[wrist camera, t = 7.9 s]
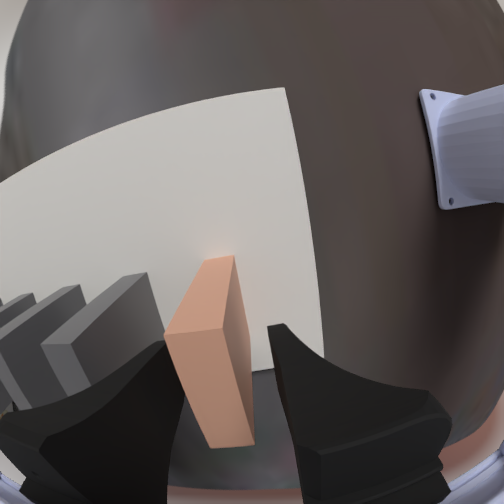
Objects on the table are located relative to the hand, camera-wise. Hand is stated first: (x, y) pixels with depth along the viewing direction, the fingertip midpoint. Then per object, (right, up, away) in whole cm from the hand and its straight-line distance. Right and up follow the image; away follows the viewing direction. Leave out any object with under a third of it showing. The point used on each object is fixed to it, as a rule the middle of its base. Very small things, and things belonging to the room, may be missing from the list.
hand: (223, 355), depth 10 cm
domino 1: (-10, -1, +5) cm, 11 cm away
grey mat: (-10, +3, +5) cm, 11 cm away
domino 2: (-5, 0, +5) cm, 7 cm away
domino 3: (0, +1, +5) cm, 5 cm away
